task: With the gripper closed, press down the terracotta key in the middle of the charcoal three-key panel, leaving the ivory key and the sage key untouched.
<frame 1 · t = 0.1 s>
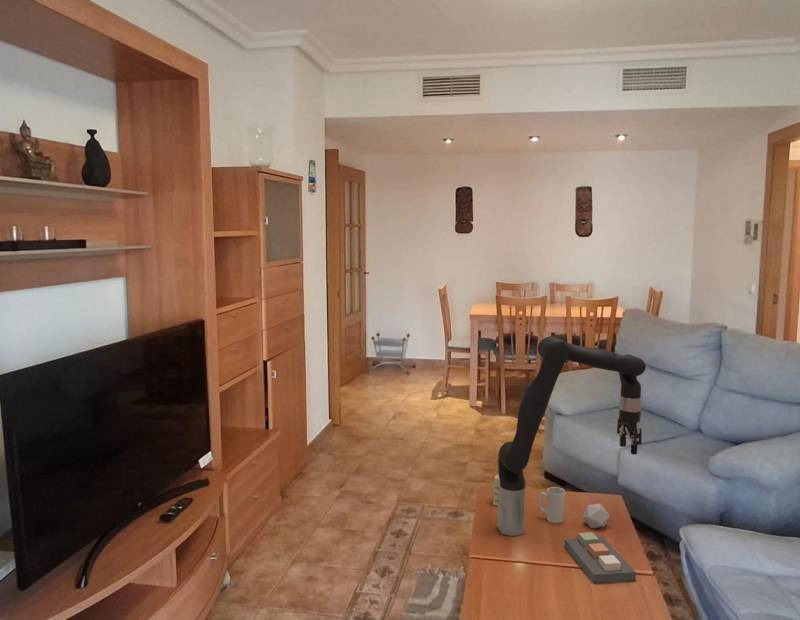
hand: (628, 450, 230), 29 cm above the table, tool pointing down, fingers open, 8 cm apart
key ivory: (609, 565, 197), point 3 cm above the table, slide at 0.0 cm
mug: (550, 520, 237), on the table
die: (595, 526, 232), on the table
key panel: (598, 562, 205), on the table
box: (507, 505, 250), on the table
key terracotta: (598, 552, 204), point 4 cm above the table, slide at 0.0 cm
key sage: (588, 541, 212), point 3 cm above the table, slide at 0.0 cm
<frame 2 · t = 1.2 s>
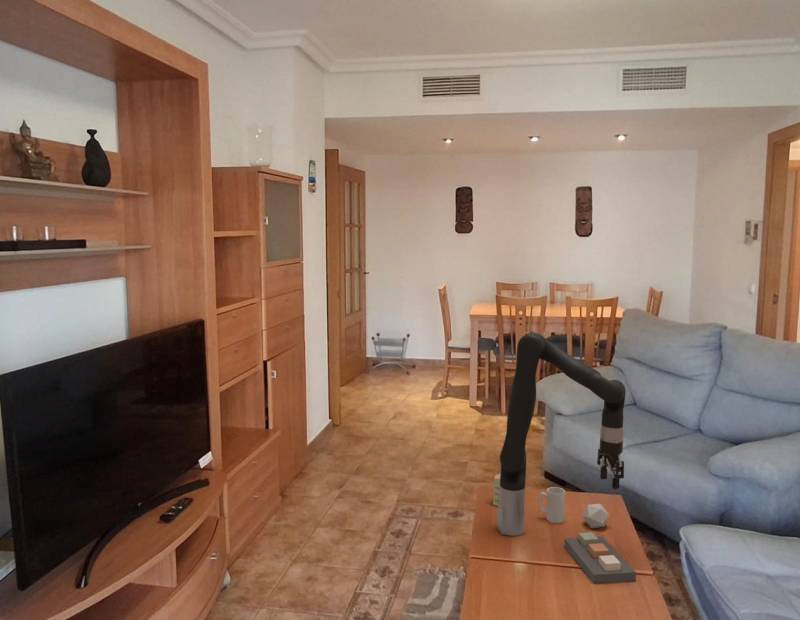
hand: (609, 483, 211), 24 cm above the table, tool pointing down, fingers open, 8 cm apart
nothing on the table moved.
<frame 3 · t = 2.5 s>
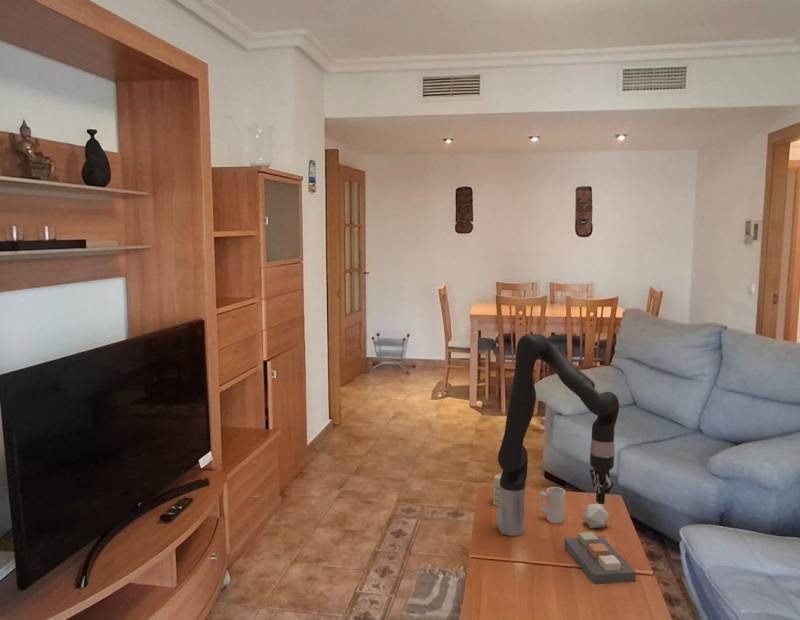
hand: (600, 502, 203), 21 cm above the table, tool pointing down, fingers closed
nothing on the table moved.
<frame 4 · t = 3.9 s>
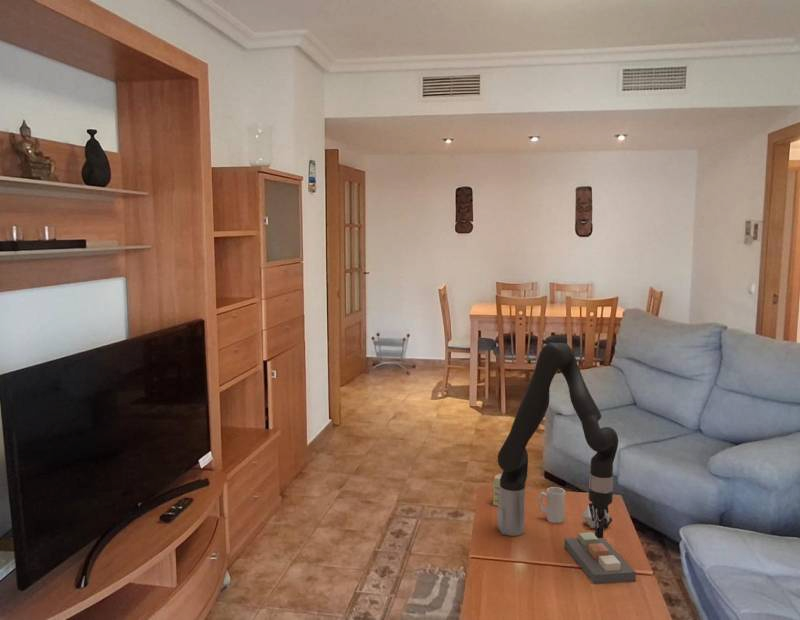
hand: (599, 537, 204), 9 cm above the table, tool pointing down, fingers closed
nothing on the table moved.
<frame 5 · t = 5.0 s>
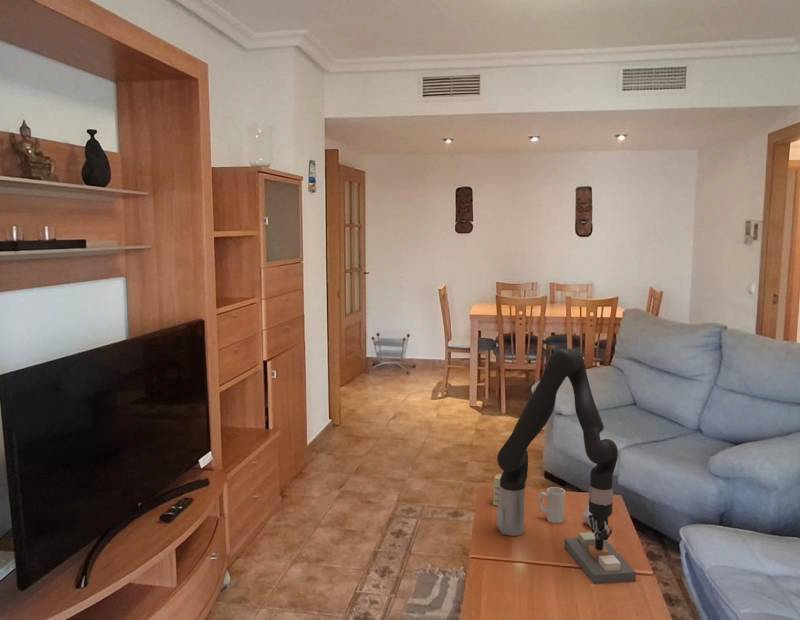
hand: (599, 548, 204), 5 cm above the table, tool pointing down, fingers closed
key terracotta: (598, 554, 204), point 3 cm above the table, slide at 0.6 cm, touching gripper
everything else where it was.
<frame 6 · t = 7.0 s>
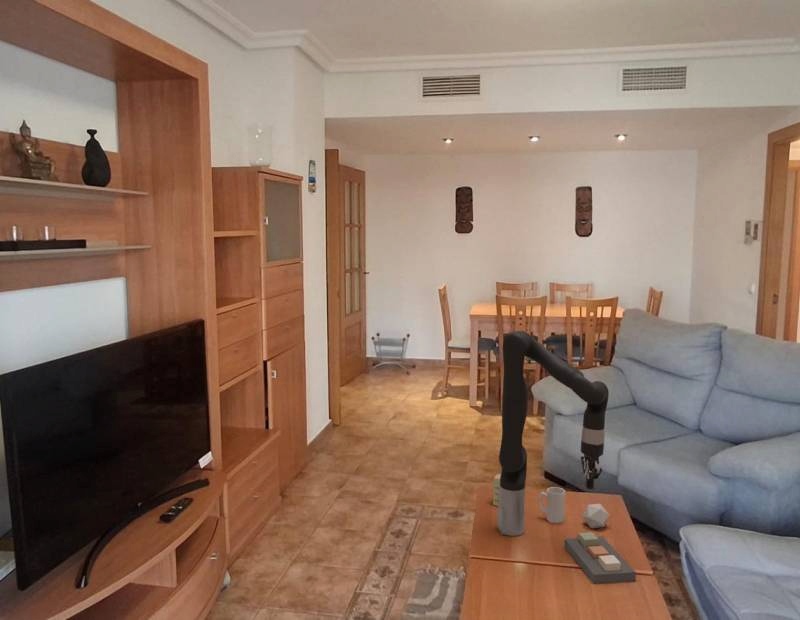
hand: (589, 488, 210), 23 cm above the table, tool pointing down, fingers closed
key terracotta: (598, 555, 205), point 3 cm above the table, slide at 0.9 cm
everything else where it was.
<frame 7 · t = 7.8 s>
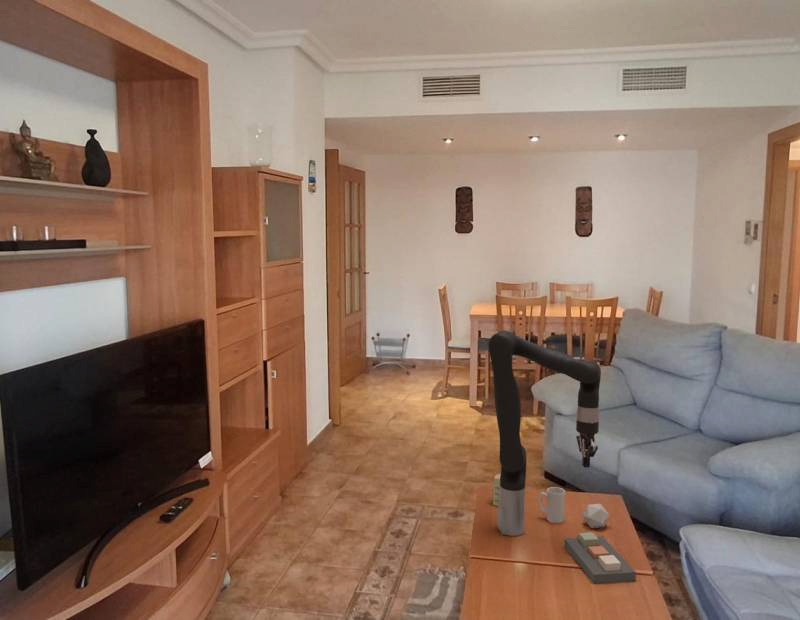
hand: (585, 466, 214), 29 cm above the table, tool pointing down, fingers closed
nothing on the table moved.
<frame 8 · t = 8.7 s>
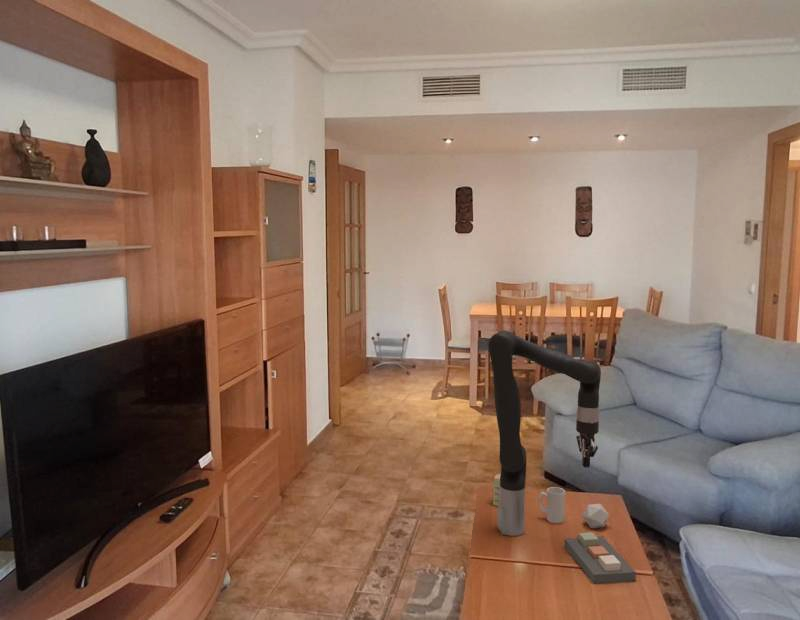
hand: (585, 466, 214), 29 cm above the table, tool pointing down, fingers closed
nothing on the table moved.
at the end: key terracotta slide at 0.9 cm; key ivory slide at 0.0 cm; key sage slide at 0.0 cm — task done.
